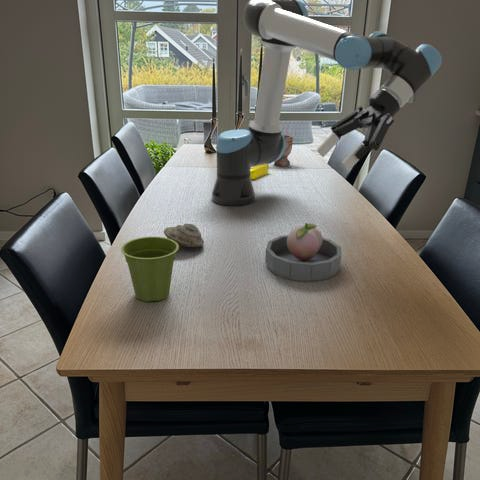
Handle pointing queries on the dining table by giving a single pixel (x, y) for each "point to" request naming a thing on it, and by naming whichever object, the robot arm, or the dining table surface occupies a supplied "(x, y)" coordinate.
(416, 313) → the dining table surface
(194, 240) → the fossilized seashell
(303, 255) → the decorative fruit
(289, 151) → the mortar and pestle
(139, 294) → the plant pot
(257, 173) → the element tile
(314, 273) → the bowl
